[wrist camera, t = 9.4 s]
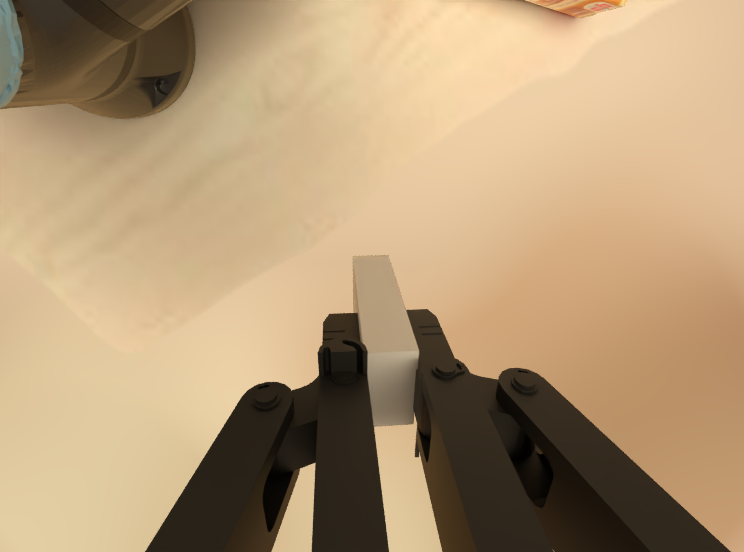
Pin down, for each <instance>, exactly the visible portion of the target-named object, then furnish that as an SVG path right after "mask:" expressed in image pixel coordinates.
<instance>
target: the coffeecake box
mask: <svg viewBox="0 0 744 552" xmlns="http://www.w3.org/2000/svg"><path fill="white" fill-rule="evenodd" d="M525 1H529V2H532V3H535V4H538V5H541V6H544V7H547V8H550V9H553V10H556V11H559V12H563V13H566V14H569V15H572V16H575V17H579V18H583V17H588V16H593V15H595V14H596V13H599V12H603V11H606V10H612V9H616V8H619V7H623V6H625V4H626V2H627V0H525Z"/></svg>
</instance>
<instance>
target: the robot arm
mask: <svg viewBox="0 0 744 552" xmlns="http://www.w3.org/2000/svg"><path fill="white" fill-rule="evenodd" d="M191 1H193V0H0V109H5V108H17V107H28V106H39V105H51V104H62V103H70V104H72V105H74V106H77V107H79V108H81V109H83V110H85V111H88V112H91V113H94V114H97V115H101V116H105V117H111V118H122V119H125V118H136V117H142V116H147V115H151V114H154V113H157V112H159V111H161V110H163V109H165V108H167V107H168V106H170V105H171V104H172V103H173V102H174V101H176V100H177V98H178V97H179V96H180V95H181V94H182V92H183V91H184V89H185V88H186V86H187V84H188V82H189V80H190V77H191V74H192V71H193V66H194V60H195V37H194V30H193V25H192V22H191V18H190V15H189V12H188V9H187V7H186V5H187V4H188V3H190V2H191ZM353 304H354V313H343V314H329V315H328V317H327V318H326V319H325V321H324V322H323V342H322V343H323V344H322V346H321V347H320V348H319V351H318V364H319V376H318V377H317V378H316V379H315V380H314V381H313V382H312V383H310V384H309V385H307V386H304V387H302V388H299V389H295V390H292V391H291V389H290V388H289V387H287V386H286V385H285V384H282V383H278V382H265V383H262V384H258V385H256V386H254V387H252V388H251V389H249V390H248V391H247V392H246V393H245V394H244V395H243V396H242V398H241V399H240V401H239V402H238V404H237V406H236V407H235V409H234V410H233V412H232V414H231V415H230V417H229V418H228V420H227V422H226V423H225V425H224V427H223V428H222V430H221V431H220V433H219V434H218V436H217V438H216V439H215V441H214V442H213V444H212V446H211V447H210V449H209V450H208V452H207V454H206V455H205V457H204V458H203V460H202V462H201V463H200V465H199V467H198V468H197V470H196V471H195V473H194V475H193V476H192V478H191V479H190V481H189V482H188V484H187V486H186V487H185V489H184V490H183V492H182V494H181V495H180V497H179V498H178V500H177V502H176V503H175V505H174V507H173V508H172V510H171V511H170V513H169V515H168V516H167V518H166V519H165V521H164V522H163V524H162V526H161V527H160V529H159V531H158V532H157V534H156V535H155V537H154V539H153V540H152V542H151V543H150V545H149V546H148V548H147V550H146V551H145V552H271V551H272V548H273V546H274V543H275V540H276V537H277V534H278V531H279V529H280V526H281V523H282V520H283V517H284V514H285V512H286V509H287V506H288V503H289V500H290V498H291V495H292V492H293V489H294V486H295V483H296V481H297V478H298V475H299V471H300V468H302V467H305V466H308V465H310V464H313V463H316V466H315V467H316V468H315V489H314V513H313V536H312V552H389V548H388V540H387V532H386V523H385V515H384V507H383V500H382V490H381V483H380V474H379V466H378V457H377V449H376V441H375V434H374V427H376V426H390V425H391V426H392V425H408V424H413V422H414V413H415V417H416V421H417V434H416V446H415V457H419V452H420V456H421V460H422V464H423V469H424V473H425V478H426V482H427V486H428V491H429V495H430V499H431V504H432V508H433V512H434V517H435V521H436V525H437V530H438V533H439V538H440V543H441V547H442V551H443V552H730V551H729V550H728V549H727V548H726V547H725V546H724V545H723V544H722V543H720V541H719V540H718V539H716V538H715V537H714V536H713V535H712V534H711V533H710V532H709V531H708V530H707V529H706V528H705V527H704V526H702V525H701V524H700V523H699V522H698V521H697V520H696V519H695V518H694V517H693V516H692V515H691V514H690V513H688V512H687V511H686V510H685V509H684V508H683V507H682V506H681V505H680V504H679V503H678V502H676V501H675V500H674V499H673V498H672V497H671V496H670V495H669V494H668V493H667V492H666V491H665V490H664V489H663V488H662V487H660V486H659V485H658V484H657V483H656V482H655V481H654V480H653V479H652V478H651V477H650V476H649V475H647V474H646V473H645V472H644V471H643V470H642V469H641V468H640V467H639V466H638V465H637V464H636V463H634V462H633V461H632V460H631V459H630V458H629V457H628V456H627V455H626V454H625V453H624V452H623V451H622V450H620V448H618V447H617V446H616V445H615V444H614V443H613V442H612V441H611V440H610V439H609V438H608V437H607V436H605V435H604V434H603V433H602V432H601V431H600V430H599V429H598V428H597V427H595V425H594V424H593V423H592V422H590V421H589V420H588V419H587V418H586V417H585V416H584V415H583V414H582V413H581V412H580V411H579V410H577V409H576V408H575V407H574V406H573V405H572V404H571V403H570V402H569V401H568V400H567V399H566V398H564V397H563V396H562V395H561V394H560V393H559V392H558V391H557V390H556V389H555V388H554V387H553V386H551V384H549V383H548V382H547V381H546V380H545V379H544V378H542V377H541V376H540V375H538V374H537V373H535V372H532V371H530V370H527V369H521V368H509V369H507V370H505V371H502V373H501V374H500V376H499V379H498V380H497V379H491V378H485V377H480V376H477V375H474V374H471V373H470V372H469V370H468V368H467V367H466V366H465V365H464V363H462V362H461V361H459V360H457V359H455V358H454V356H453V353H452V351H451V349H450V346H449V344H448V342H447V340H446V337H445V335H444V334H443V331H442V328H441V327H440V324H439V322H438V319H437V317H436V316H435V315H434V314H432V313H431V312H430V311H429V310H427V309H420V310H406V308H405V305H404V303H403V299H402V296H401V293H400V290H399V287H398V284H397V281H396V277H395V275H394V271H393V268H392V265H391V262H390V259H389V256H388V255H379V256H353ZM553 550H554V551H553Z"/></svg>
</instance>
